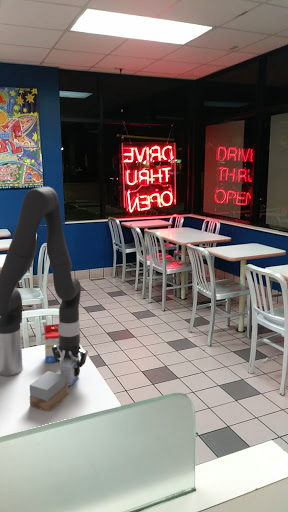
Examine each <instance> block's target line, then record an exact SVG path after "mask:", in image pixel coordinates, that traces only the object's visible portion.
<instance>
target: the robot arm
mask: <svg viewBox="0 0 288 512" xmlns="http://www.w3.org/2000/svg"><path fill="white" fill-rule="evenodd" d="M58 195H59V194H58V193H57V192H56V190H54V188H52V187H51V186H41V187H35V188H32V189H30V190H28V191H27V192H26V193H25V195H24V196H23V200H22V204H21V209H20V212H19V217H18V221H17V224H16V228H15V229H14V234H13V236H12V239H11V242H10V243H9V247H8V249H7V252H6V255H5V259H4V262H3V264H2V267H1V269H0V375H1V376H5V377H7V376H8V377H9V376H10V377H11V376H15V375H17V374H19V373H21V372H22V371H23V369H24V368H23V367H24V366H23V349H22V333H21V332H22V331H21V324H22V321H23V300H22V294H21V293H20V291H19V290H18V289H17V288H16V286H17V285H18V283H20V281H21V280H22V279H23V277H25V275H26V274H27V273H28V272H29V270H30V268H31V266H32V264H33V262H34V259H35V257H36V254H37V251H38V241H37V233H38V230H39V228H40V227H39V226H40V224H41V222H42V220H44V223H45V227H46V228H45V229H46V252H47V257H48V261H49V264H50V268H51V270H52V278H53V286H54V291H55V293H56V296H57V298H59V299H60V300H61V303H60V305H59V308H58V324H59V344H60V345H59V346H58V345H55V346H54V347H52V351H53V355H54V359H55V362H54V363H59V365H60V363H61V362H62V361H63V360H64V359H65V358H70V359H71V360H72V362H74V366H75V367H74V376H77V375H78V374H79V375H80V373H81V368H82V367H83V366H84V365H85V363H86V360H87V357H88V353H89V351H88V350H83V349H82V348H81V346H80V344H81V327H80V326H81V325H80V308H79V307H80V299H81V293H82V292H81V291H82V289H81V288H82V287H81V281H79V279H78V278H77V277H76V276H72V272H71V271H72V269H73V264H72V260H71V257H70V253H69V250H68V247H67V243H66V239H65V238H66V237H65V233H64V227H63V222H62V221H63V220H62V214H61V206H60V199H59V196H58ZM59 350H60V351H61V353H62V355H60V352H59Z"/></svg>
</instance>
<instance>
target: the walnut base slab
mask: <svg viewBox="0 0 288 512" xmlns="http://www.w3.org/2000/svg"><path fill="white" fill-rule="evenodd" d="M68 395H69V385H67V384H65V386H64V387H63V388H62V389H61V390H60V391H59V392H57V393H56V394H55V395H54V396H53V397H52V398H51V399H49V400H48V401H46V400H42V399H39V398H36V397H32V396H30V395H29V407H32V408H35V409H39V410H43V411H46V412H52V411H53V410H54V409H55V408H56V407H57V406H58V405H59V404H60V403H61V402H62V401H63V400H64V399H65V398H66V397H67V396H68Z"/></svg>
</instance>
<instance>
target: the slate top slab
mask: <svg viewBox="0 0 288 512" xmlns="http://www.w3.org/2000/svg"><path fill="white" fill-rule="evenodd" d="M64 386H65V375H61V374H60V373H57V372H53V371H48V370H47V371H46V372H45V373H44V374H42V375H41V376H40V377H38V378H37V379H35V380H34V381H33V382H32V383H30V384H29V397H30V396H32V397H36V398H39V399H42V400H46V401H48V400H49V399H51V398H52V397H53V396H54V395H55V394H56V393H57V392H59V391H60V390H61V389H62V388H63V387H64Z"/></svg>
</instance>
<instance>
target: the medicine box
mask: <svg viewBox="0 0 288 512" xmlns="http://www.w3.org/2000/svg"><path fill="white" fill-rule="evenodd" d="M74 367H75V366H74V362H72V360H71V359H70V358H65V359H64V360H63V361H62V362H61V363H60V364H59V369H60V371H59V372H60V373H59V374H61V375H65V384H67V385H68V386H73V384H74V383H75V382H76V380H77V379H78V377H79V376H80V373H79V374H78V375H77V376H74Z"/></svg>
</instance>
